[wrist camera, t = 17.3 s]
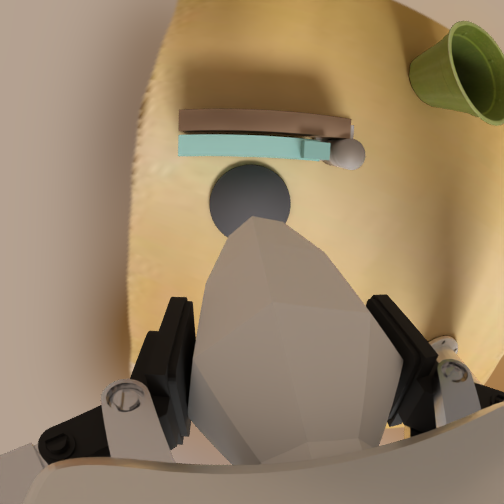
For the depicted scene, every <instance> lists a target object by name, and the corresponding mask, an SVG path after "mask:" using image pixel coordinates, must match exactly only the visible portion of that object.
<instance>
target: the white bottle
mask: <svg viewBox="0 0 504 504" xmlns="http://www.w3.org/2000/svg"><path fill="white" fill-rule="evenodd" d="M402 366H403V359H402V357H401V356H400V354H399V353H398V352H397V350H396V349H395V347H394V346H393V344H392V343H391V341H390V340H389V338H388V337H387V335H386V334H385V333H384V331H383V330H382V328H381V327H380V326H379V324H378V323H377V321H376V320H375V318H374V317H373V316H372V314H371V313H370V312H369V310H368V309H367V307H366V306H365V305H364V303H363V302H362V301H361V299H360V298H359V297H358V295H357V294H356V293H355V291H354V290H353V289H352V287H351V286H350V285H349V283H348V282H347V281H346V279H345V278H344V277H343V276H342V274H341V273H340V272H339V270H338V269H337V268H336V267H335V265H334V264H333V263H332V261H331V260H330V259H329V258H328V256H327V255H326V254H325V253H324V252H323V251H322V250H320V249H319V248H318V247H316V246H315V245H314V244H312V243H311V242H310V241H308V240H307V239H306V238H304V237H303V236H301V235H300V234H299V233H297V232H296V231H295V230H293V229H292V228H290V227H289V226H288V225H286V224H285V223H283V222H281V221H276V220H271V219H265V218H260V217H254V216H252V217H250V218H249V219H248V220H247V221H246V222H244V223H243V224H242V225H241V226H240V227H239V228H237V229H236V230H235V231H234V232H233V233H232V234H230V235H229V236H228V239H227V241H226V243H225V245H224V247H223V249H222V251H221V253H220V255H219V257H218V259H217V261H216V263H215V265H214V267H213V270H212V272H211V274H210V276H209V278H208V280H207V282H206V285H205V291H204V296H203V302H202V307H201V313H200V319H199V325H198V331H197V337H196V343H195V349H194V355H193V362H192V372H191V382H190V392H189V403H188V417H189V419H190V420H191V421H192V422H193V423H194V424H195V426H196V427H197V428H198V429H199V430H200V431H201V432H202V433H203V435H204V436H205V437H206V438H207V439H208V440H209V441H210V442H211V443H212V444H213V445H214V447H216V449H217V450H218V451H219V452H220V453H221V454H222V455H223V456H224V457H225V458H226V459H227V460H228V461H229V462H230V463H231V464H232V465H258V464H274V463H286V462H296V461H304V460H312V459H319V458H325V457H331V456H337V455H343V454H348V453H353V452H357V451H362V450H366V449H370V448H374V447H378V446H379V444H380V441H381V438H382V435H383V432H384V429H385V426H386V423H387V420H388V417H389V414H390V411H391V407H392V404H393V401H394V397H395V393H396V390H397V386H398V382H399V378H400V374H401V370H402Z"/></svg>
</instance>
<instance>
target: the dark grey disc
mask: <svg viewBox="0 0 504 504" xmlns="http://www.w3.org/2000/svg"><path fill="white" fill-rule="evenodd" d="M210 212H211V216H212V219H213V221H214V223H215V225H216V226H217V228H218V229H219V230H220V231H221V232H222V233H223V234H224V235H225V236H227V237H228V236H229V235H230V234H232V233H233V232H234V231H235V230H236V229H237V228H239V227H240V226H241V225H242V224H243V223H244V222H246V221H247V220H248V219H249V218H250V217H252V216H254V217H260V218H265V219H271V220H276V221H281V222H283V223H286V221H287V219H288V216H289V212H290V195H289V192H288V189H287V187H286V185H285V183H284V182H283V181H282V179H281V178H280V177H279V176H278V175H277V174H275V173H274V172H273V171H271V170H269V169H267V168H265V167H262V166H258V165H243V166H239V167H235V168H233V169H231V170H229V171H228V172H226V173H225V174H224V175H223V176H222V177H221V178H220V179H219V180H218V181H217V183H216V184H215V186H214V188H213V190H212V193H211V197H210Z"/></svg>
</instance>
